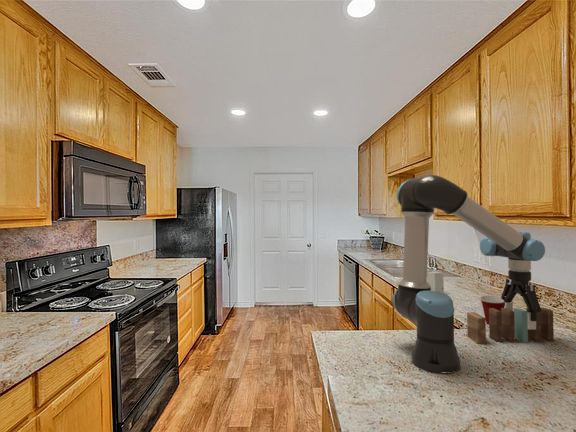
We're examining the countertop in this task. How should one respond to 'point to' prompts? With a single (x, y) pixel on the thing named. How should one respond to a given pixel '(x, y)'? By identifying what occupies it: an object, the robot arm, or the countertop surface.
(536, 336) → the domino
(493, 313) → the domino
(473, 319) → the block
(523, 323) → the domino
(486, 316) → the plastic cup
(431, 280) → the skincare box
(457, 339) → the countertop surface
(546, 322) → the domino
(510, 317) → the domino
